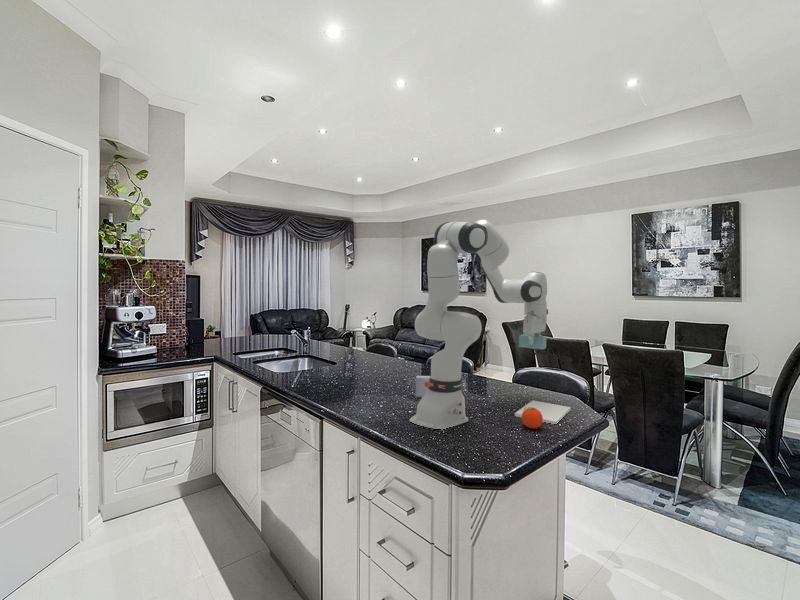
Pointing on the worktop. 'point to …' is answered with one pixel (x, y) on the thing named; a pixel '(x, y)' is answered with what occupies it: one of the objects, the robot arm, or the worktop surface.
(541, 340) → the teal block
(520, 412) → the white cutting board
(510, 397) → the worktop surface
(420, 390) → the medicine box
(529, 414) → the clementine
